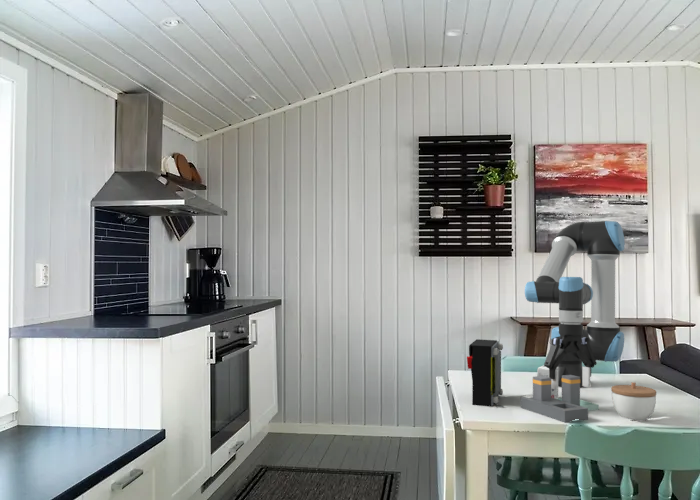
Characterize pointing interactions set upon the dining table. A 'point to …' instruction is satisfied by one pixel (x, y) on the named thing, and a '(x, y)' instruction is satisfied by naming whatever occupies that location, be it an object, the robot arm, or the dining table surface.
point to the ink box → (545, 372)
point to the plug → (571, 389)
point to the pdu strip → (551, 403)
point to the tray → (587, 404)
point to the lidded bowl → (633, 401)
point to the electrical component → (485, 371)
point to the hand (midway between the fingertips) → (570, 388)
